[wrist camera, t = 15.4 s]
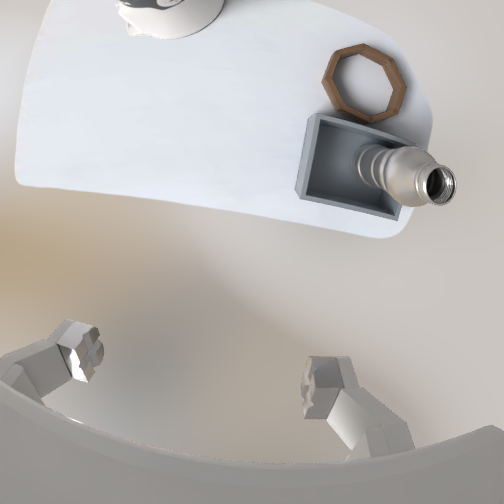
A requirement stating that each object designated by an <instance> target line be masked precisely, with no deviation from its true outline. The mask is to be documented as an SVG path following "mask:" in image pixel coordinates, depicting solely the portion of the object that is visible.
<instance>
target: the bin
mask: <svg viewBox="0 0 504 504" xmlns="http://www.w3.org/2000/svg"><path fill="white" fill-rule="evenodd" d="M369 143H376V144H380V145H382V146H385V147H386V148H389V149H397V148H401V147H406V146H415V143H412V142H410V141H407V140H404V139H402V138H399V137H396V136H393V135H391V134H388V133H385V132H382V131H379V130H376V129H372V128H369V127H366V126H363V125H359V124H356V123H353V122H349V121H346V120H342V119H338V118H334V117H330V116H326V115H322V114H318V113H316V114H314V115H313V116H311V117H309V118H308V123H307V128H306V134H305V139H304V145H303V150H302V155H301V161H300V166H299V171H298V176H297V181H296V186H295V191H296V193H297V194H298V196H299V198H300V199H303V200H308V201H313V202H318V203H323V204H327V205H332V206H337V207H341V208H346V209H350V210H354V211H359V212H363V213H367V214H371V215H375V216H379V217H383V218H387V219H391V220H395V221H398V218H399V214H400V210H401V207H402V204H401V203H399V202H398V201H396V200H395V199H394V198H393V197H392V196H391V195H390V194H389V193H387V192H386V191H385V190H383V189H381V188H371V187H367V186H365V185H363V184H361V183H360V182H359V181H358V180H357V178H356V177H355V176H354V174H353V172H352V168H351V159H352V156H353V154H354V152H355V151H356V150H357V149H358V148H359V147H361V146H363V145H365V144H369Z"/></svg>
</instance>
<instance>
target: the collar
mask: <svg viewBox="0 0 504 504" xmlns="http://www.w3.org/2000/svg"><path fill="white" fill-rule="evenodd" d="M356 54H360V55H362V56H364V57H366V58H368V59H370V60H372V61H374V62H376V63H378V64H379V65H381V66H382V67H383V69H384V71H385V73H386V75H387V77H388V79H389V81H390V83H391V85H392V87H393V92H392V95H391V98H390V101H389V104H388V107H387V110H386V111H385V112H382V113H379V114H376V115H373V116H370V117H369V116H367V115H365V114H363V113H361V112H359V111H357V110H355V109H353V108H351V107H349V106H347V105H345V104H344V102H343V100H342V98H341V96H340V94H339V92H338V90H337V88H336V86H335V84H334V82H333V80H332V76H333V73H334V70H335V67H336V65H337V62H338V59H342V58H345V57H349V56H352V55H356ZM322 84H323V86H324V88H325V90H326V92H327V94H328V96H329V98H330V100H331V102H332V104H333V106H334V109H335V111H337V112H340V113H342V114H344V115H346V116H348V117H350V118H352V119H355V120H357V121H359V122H361V123H363V124H369V123H373V122H376V121H379V120H382V119H385V118H388V117H391V116H394V115H397V114H398V112H399V109H400V106H401V103H402V100H403V97H404V94H405V91H406V88H407V87H406V85H405V83H404V81H403V79H402V76H401V74H400V72H399V70H398V68H397V66H396V64H395V62H394V60H393V59H392V58H391V57H389V56H387V55H385V54H383V53H382V52H380V51H378V50H376V49H374V48H372V47H370V46H368V45H366V44H364V43H363V44H359V45H355V46H351V47H347V48H344V49H340V50H337V51H335V52H334V53H333V55H332V56H331V58H330V61H329V63H328V66H327V69H326V71H325V74H324V77H323V79H322Z"/></svg>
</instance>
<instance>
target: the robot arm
mask: <svg viewBox="0 0 504 504" xmlns="http://www.w3.org/2000/svg"><path fill="white" fill-rule="evenodd" d="M117 1H118V2H116V7H117V8H118V9H120V10H119V14H120V15H121V16H122V17H123V18H125V21H126V27H127V32H128V33H129V34H130V35H131V36H142V35H148V36H152V37H155V38H159V39H177V38H182V37H185V36H188V35H191V34H193V33H195V32H197V31H199V30H201V29H203V28H204V27H206V26H207V25H208V24H209V23H211V22H212V21H213V20H214V19H215V18H216V16H217V15H218V14H219V12H220V11H221V9H222V6H223V4H224V0H117ZM132 25H133V26H132ZM99 336H100V334H99V330H98V328H96V327H95V326H91V325H88V324H84V323H81V322H77V321H73V320H70V319H66V320H64V321H63V322H62V323H61V324H60V325H59V327H58V328H57V329H56V330H55V331H54V332H53V333H52V334H51V335H50V336H49V337H48V339H47V340H44V339H43V340H41V341H38V342H36V343H33V344H31V345H28V346H26V347H23V348H20V349H18V350H15V351H13V352H10V353H8V354H5V355H3V356H2V357H1V358H0V504H504V431H503V430H501V429H499V428H497V427H495V426H493V425H491V426H490V425H489V426H485V427H482V428H480V429H477V430H475V431H472V432H470V433H467V434H464V435H461V436H458V437H456V438H452V439H449V440H446V441H443V442H440V443H436V444H433V445H429V446H425V447H422V448H418V449H415V446H414V443H413V440H412V437H411V434H410V431H409V429H408V426H407V423H406V422H405V421H404V420H403V419H401V418H400V417H399V416H397V415H396V414H395V413H394V412H392V411H391V410H390V409H389V408H387V407H386V406H385V405H384V404H383V403H381V402H380V401H379V400H378V399H376V398H375V397H374V396H373V395H371V394H370V393H369V392H368V391H367V390H365V389H364V388H360V387H359V384H358V381H357V378H356V375H355V372H354V368H353V365H352V362H351V359H350V357H348V356H339V357H338V356H336V357H323V356H322V357H321V356H309V357H308V359H307V363H306V367H307V370H306V371H305V372H304V373H303V377H302V384H301V393H302V397H303V398H304V402H303V415H304V419H327V421H328V423H329V424H330V425H331V427H332V428H333V429H334V430H335V431H336V432H337V434H338V435H339V436H340V437H341V439H342V440H343V441H344V442H345V443H346V445H347V446H348V447H349V448H350V449H351V452H350V453H349V455H348V456H347V457H346V458H345V460H344V461H338V462H325V463H300V464H299V463H297V464H285V463H282V464H281V463H256V462H242V461H232V460H224V459H216V458H209V457H203V456H197V455H191V454H186V453H181V452H175V451H171V450H167V449H162V448H158V447H154V446H150V445H146V444H143V443H139V442H136V441H132V440H129V439H125V438H122V437H119V436H116V435H113V434H110V433H107V432H104V431H102V430H99V429H96V428H94V427H91V426H88V425H86V424H83V423H81V422H78V421H76V420H74V419H71V418H69V417H67V416H65V415H63V414H61V413H58V412H56V411H54V410H52V409H50V408H48V407H46V406H45V404H44V402H43V401H42V399H41V398H42V397H44V396H45V395H47V394H49V393H50V392H52V391H53V390H55V389H56V388H58V387H59V386H61V385H63V384H64V383H66V382H67V381H69V380H70V379H72V378H75V379H78V380H81V381H84V382H87V383H88V382H89V380H90V379H91V377H92V376H93V374H94V373H95V370H94V367H96V366H98V365H100V363H101V362H102V360H103V356H104V347H103V344H102V342H101V341H100V340H99V339H98V338H99Z"/></svg>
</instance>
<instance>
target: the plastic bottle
mask: <svg viewBox="0 0 504 504" xmlns="http://www.w3.org/2000/svg"><path fill="white" fill-rule="evenodd" d="M351 168H352V172H353V174H354V176H355V177H356V178H357V180H358V181H359V182H360V183H361V184H363V185H365V186H367V187H371V188H381V189H383V190H385V191H386V192H387V193H389V194H390V195H391V196H392V197H393V198H394V199H395V200H396V201H398V202H399V203H401V204H403V205H405V206H409V207H417V206H423V205H425V204H427V203H432V204H435V205H439V206H441V205H445V204H447V203H449V202H450V201H451V200H452V198H453V197H454V195H455V192H456V179H455V176H454V174H453V172H452V171H451V170H450V169H449V168H447V167H445V166H443V165H439V164H437V163H436V161H435V159H434V158H433V157H432V156H431V155H430V154H429V153H427V152H426V151H425V150H423V149H421V148H419V147H415V146H406V147H401V148H397V149H389V148H386V147H385V146H382V145H380V144H376V143H369V144H365V145H363V146H361V147H359V148H358V149H357V150H356V151H355V152H354V154H353V156H352V159H351Z"/></svg>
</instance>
